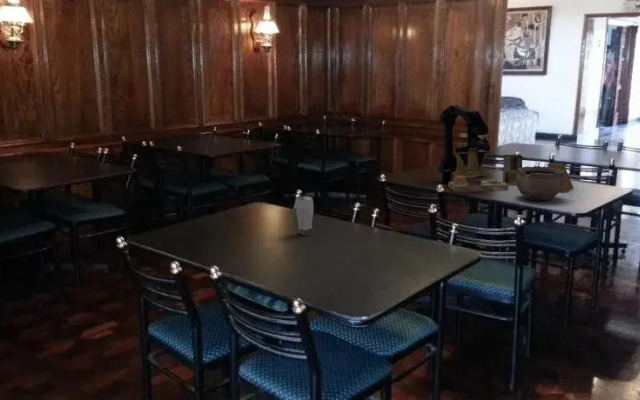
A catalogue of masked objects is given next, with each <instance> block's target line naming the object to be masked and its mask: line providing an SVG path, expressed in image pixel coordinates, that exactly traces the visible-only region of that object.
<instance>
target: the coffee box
mask: <svg viewBox="0 0 640 400" xmlns="http://www.w3.org/2000/svg"><path fill="white" fill-rule="evenodd" d="M523 158H524V157H523V155H522V154H520V153H519V154H503V163H502V164H503V165H502V182H504V183H506V184H508V186H517V185H516V180H517V176H518V174H519V173H518V168H521V167H523Z"/></svg>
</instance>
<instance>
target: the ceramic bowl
mask: <svg viewBox="0 0 640 400" xmlns="http://www.w3.org/2000/svg"><path fill="white" fill-rule="evenodd" d="M518 173H519V174H518V176H517V180H516V185H515V186H516V187H517V189H518V191H519V192H520V194H521V195H522V196H523V197H524V198H525V199H528V200H531V201H537V202H538V201H539V202H540V201H541V202H543V201H549V200H551V199H553V198H554V197H556V196H558V194H559V193H560V191H561V189H562V186H563V175H564V173H565V171H563V170H559V169H555V168H549V167H548V166H546V167H545V166H522V167H521V168H518Z"/></svg>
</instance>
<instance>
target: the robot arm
mask: <svg viewBox="0 0 640 400" xmlns="http://www.w3.org/2000/svg"><path fill="white" fill-rule="evenodd" d="M458 117H461V118H463V119H462V120H463V121H464V122H465V123H466V124H465V125H464V127H465V128H466V133H467V138H465V140H467V146H466V147H458V146H457V147H455V150H454V139H453V137H454V134H453V133H454V132H453V129H454V126H455V124H456V119H457V118H458ZM439 120H440V121H439V122H440V125H441V127H442V129H443V155H442V157H441V159H440V160H441V162H440V163H439V165H438V167H437V172H438V173H441V177H440V178H441V180H439V182H440V183H441V184H449V182H452V181H453V175H452V172H455V171H456V167H457V158H456V157H457V156H455V155H454V151H455V153H456V155H457V154H459V155H460V157H461V159H462V160H463V162H464V164H465V166H467V164H468V154H469V153H467V152H468V151H475V150H478V152H477V156H478V162H479V165H481V164H482V161H483V158H484V155H485V154H486V153H487V152H488V151H489V152H490V151H491V145H490V146H489V143H490V140H484V141H481V140H480V137H478V135H481V136H487V135H488V133H489V127H488V125H487V124H486V123H485V121H484V119H483V117H482V115H481V113H480V112H479V110H475V109H474V110H469V109H467V108H464V107H462V106H460V105H459V104H452V105H449V106H448V107H447V108H446V109H444V110H443V111H441V113H440V115H439ZM470 148H472V149H470Z"/></svg>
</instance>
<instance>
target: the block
mask: <svg viewBox="0 0 640 400" xmlns="http://www.w3.org/2000/svg"><path fill="white" fill-rule="evenodd" d="M453 181H454V184H456V185H466V177H465V176H454V175H453Z"/></svg>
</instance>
